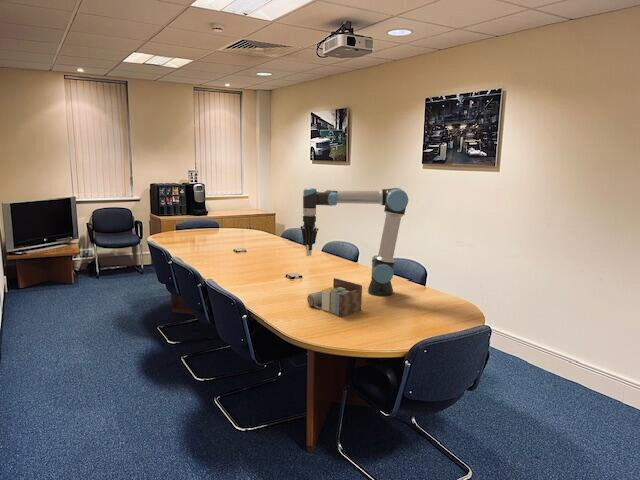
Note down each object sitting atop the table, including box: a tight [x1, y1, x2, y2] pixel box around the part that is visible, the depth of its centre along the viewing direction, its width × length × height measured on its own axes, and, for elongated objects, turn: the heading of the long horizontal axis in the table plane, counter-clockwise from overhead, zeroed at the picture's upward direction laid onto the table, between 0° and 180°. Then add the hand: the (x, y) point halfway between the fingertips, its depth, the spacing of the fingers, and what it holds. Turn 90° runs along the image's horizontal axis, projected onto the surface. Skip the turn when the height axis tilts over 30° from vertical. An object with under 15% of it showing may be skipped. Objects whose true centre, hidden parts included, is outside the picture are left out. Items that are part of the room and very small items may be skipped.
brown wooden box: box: [329, 277, 363, 318], centre depth 255 cm, size 16×20×14 cm
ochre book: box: [321, 286, 335, 313], centre depth 255 cm, size 8×6×11 cm
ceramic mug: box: [307, 290, 322, 310], centre depth 260 cm, size 11×8×8 cm
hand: (308, 255), depth 275 cm, fingers closed
